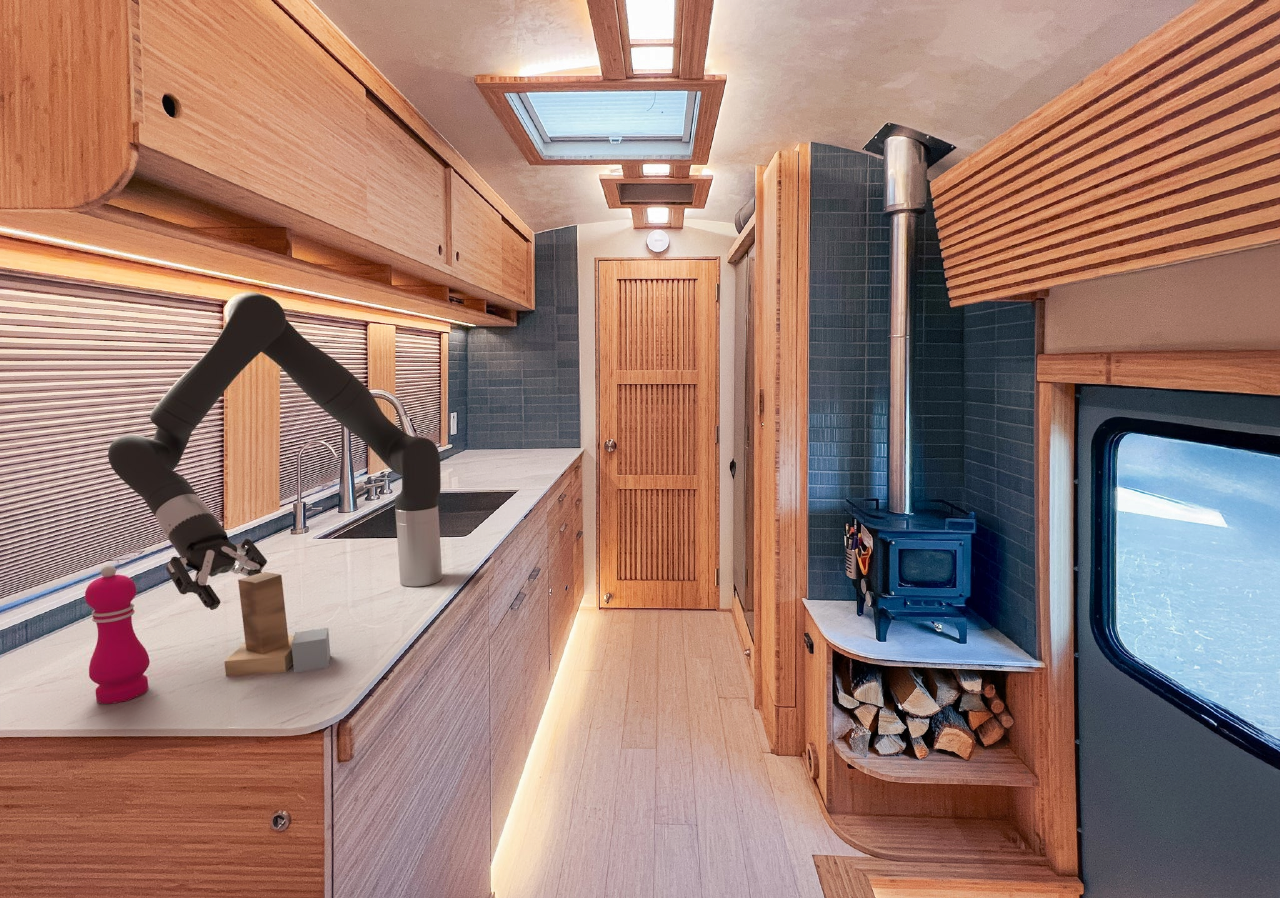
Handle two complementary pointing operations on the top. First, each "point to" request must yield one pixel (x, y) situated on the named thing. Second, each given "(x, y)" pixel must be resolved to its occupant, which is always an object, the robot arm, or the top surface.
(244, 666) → the oak base
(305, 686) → the top surface
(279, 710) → the top surface
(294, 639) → the slate block
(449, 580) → the top surface
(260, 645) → the walnut pillar
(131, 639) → the pepper mill
